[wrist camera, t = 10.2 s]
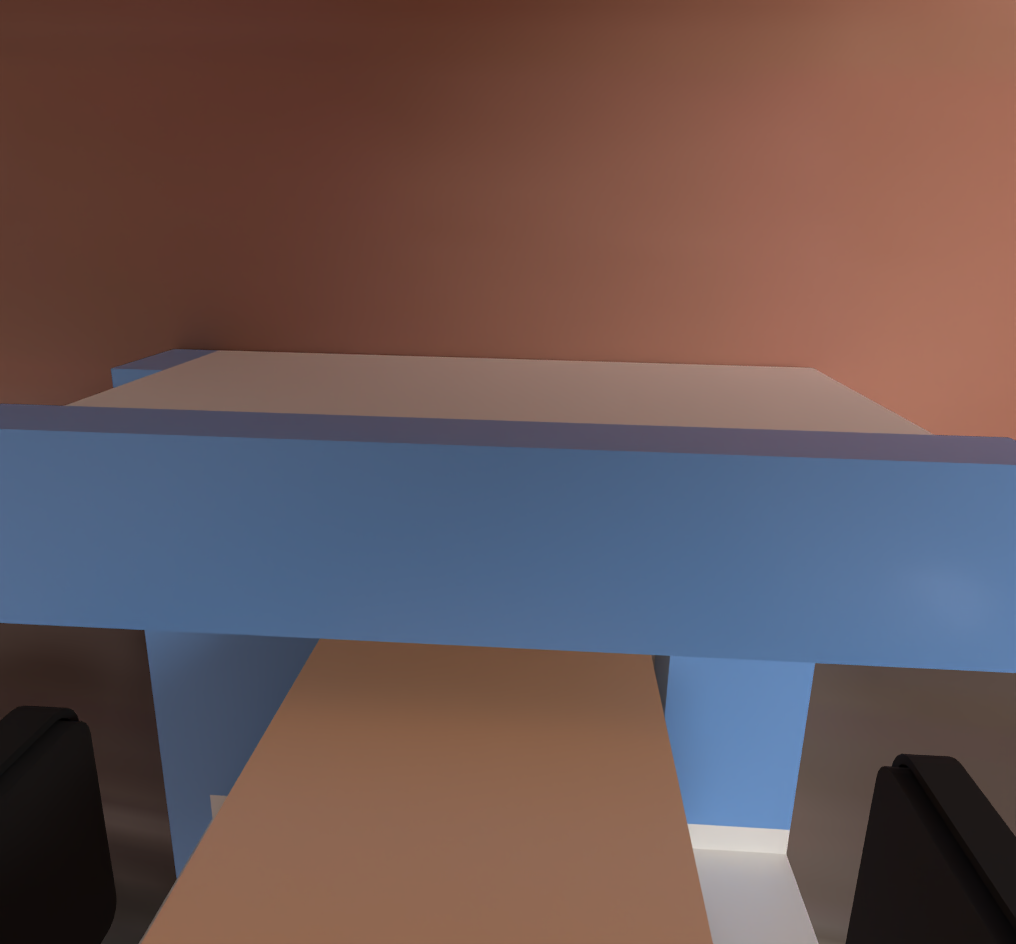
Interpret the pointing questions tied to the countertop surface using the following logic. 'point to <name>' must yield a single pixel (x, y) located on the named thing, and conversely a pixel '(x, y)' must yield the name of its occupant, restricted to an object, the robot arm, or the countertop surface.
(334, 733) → the cord plug
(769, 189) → the countertop surface
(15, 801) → the robot arm
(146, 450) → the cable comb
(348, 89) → the countertop surface
